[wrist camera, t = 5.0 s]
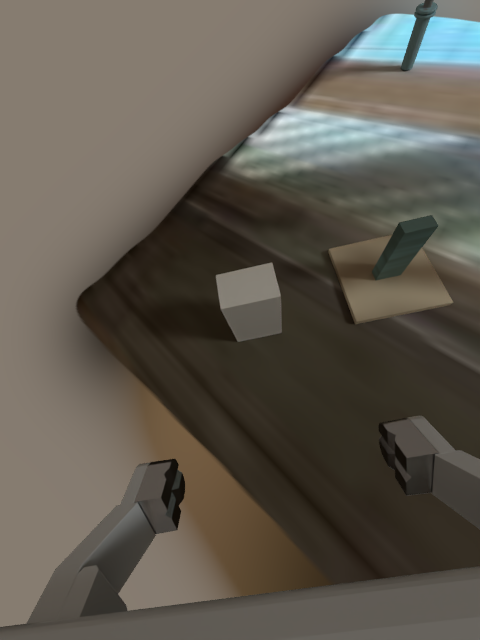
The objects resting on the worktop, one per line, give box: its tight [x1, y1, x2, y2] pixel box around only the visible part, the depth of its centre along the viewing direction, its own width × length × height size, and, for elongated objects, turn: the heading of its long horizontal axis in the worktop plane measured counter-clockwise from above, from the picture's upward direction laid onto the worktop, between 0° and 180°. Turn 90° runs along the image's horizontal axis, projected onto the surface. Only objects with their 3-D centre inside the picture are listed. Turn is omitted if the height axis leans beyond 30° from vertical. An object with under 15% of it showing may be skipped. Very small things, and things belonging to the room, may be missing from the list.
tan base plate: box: [328, 215, 453, 324], centre depth 24 cm, size 9×9×8 cm
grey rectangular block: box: [216, 263, 282, 342], centre depth 24 cm, size 3×5×8 cm
